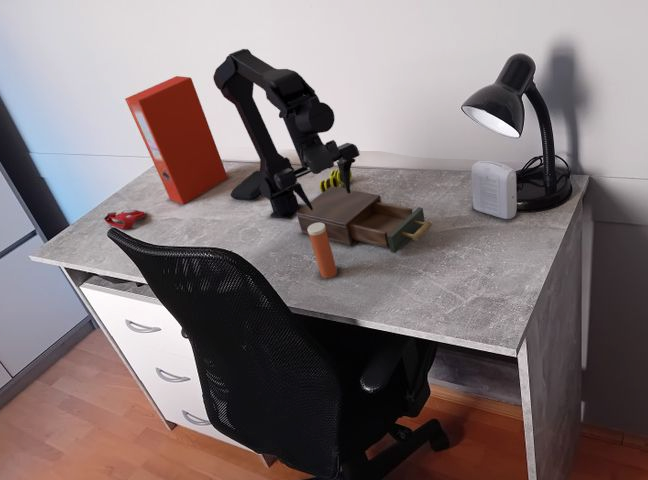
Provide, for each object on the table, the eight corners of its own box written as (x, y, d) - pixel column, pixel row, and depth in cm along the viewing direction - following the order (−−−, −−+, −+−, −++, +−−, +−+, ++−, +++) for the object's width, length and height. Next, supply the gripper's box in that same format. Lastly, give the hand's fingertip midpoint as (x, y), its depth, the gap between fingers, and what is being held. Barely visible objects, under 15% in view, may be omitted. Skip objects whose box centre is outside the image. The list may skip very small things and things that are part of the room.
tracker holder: (144, 206, 165) (143, 212, 156) (147, 220, 166) (145, 227, 157) (101, 211, 162) (97, 217, 153) (104, 225, 163) (100, 232, 154)
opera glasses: (340, 181, 155) (333, 165, 153) (354, 179, 152) (348, 163, 150) (322, 198, 149) (315, 182, 147) (337, 196, 146) (330, 180, 144)
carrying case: (258, 203, 153) (286, 178, 163) (255, 194, 151) (283, 169, 161) (229, 201, 158) (258, 177, 168) (226, 192, 156) (255, 168, 166)
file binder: (228, 178, 172) (190, 77, 153) (184, 204, 163) (138, 100, 144) (213, 174, 177) (175, 76, 158) (170, 199, 168) (124, 98, 149)
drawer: (440, 227, 122) (438, 210, 120) (410, 257, 116) (408, 240, 113) (374, 213, 134) (371, 198, 131) (344, 240, 127) (340, 224, 124)
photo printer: (520, 212, 122) (518, 162, 115) (509, 221, 120) (507, 171, 113) (482, 202, 129) (478, 154, 122) (471, 210, 127) (467, 162, 120)
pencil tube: (318, 273, 119) (304, 227, 112) (332, 266, 121) (319, 220, 114) (326, 280, 117) (312, 234, 110) (340, 273, 118) (328, 226, 111)
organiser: (384, 216, 133) (380, 195, 129) (351, 246, 125) (345, 224, 122) (336, 206, 142) (331, 186, 139) (302, 233, 135) (296, 212, 131)
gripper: (269, 155, 107) (299, 226, 112) (354, 118, 109) (379, 189, 115) (261, 150, 117) (290, 216, 123) (339, 117, 119) (363, 182, 125)
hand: (330, 201), depth 121 cm, fingers open, 9 cm apart
